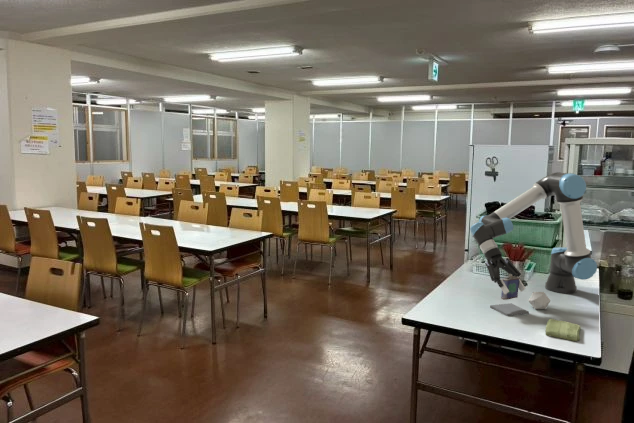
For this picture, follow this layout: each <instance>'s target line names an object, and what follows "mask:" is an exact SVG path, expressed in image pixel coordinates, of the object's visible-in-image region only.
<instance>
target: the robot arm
mask: <svg viewBox="0 0 634 423" xmlns="http://www.w3.org/2000/svg"><path fill="white" fill-rule="evenodd" d="M586 191H587V183H586V181H585V179H584V178H583V177H582V176H580V175H579V174H576V173H571V172H568V173H566V172H558V171H556V172H552V173H550V174H548V175H546V176H544V177H542V178H540V179H539V180H538V181H536V182H535V183H533V185H532V187H531V188H529V189H527V190H525V191H524V192H523V193H521V194H519V195H518V196H517V197H515V198H513V199H512V200H510V201H508V202H507V203H505V204H503V206H501V207H499V208H498V209H496V210H495V211H493V212H492V213H490V214H486V215H482V216H481V217H480V218H479V220H478V222H475V223H473V224H472V225H471V226H470V229H469V231H470V234H471V235H472V238H473V239H474V240H475V242H476V243H477V246H478V247H479V248H480V250H481V252H482V254H483V255H484V257H485V259H486V260H487V261H486V262H485V266H486V268H487V271H488V273H489V274H488V275H489V276H490V279H491V281H492V282H494V283H495V284H497V285H498V287H499V288H500V289H501V292H502V291H503V293H504V294H507V293H508V292H509V290H508V288H507V287H506V285H505V283H504V281H503V278H501V274H500V269H502V270H504V271H505V272H506V273H507V274H508V275H510V274H512V276H516V277H519V286H518V291H520V293H521V292H523V291H524V290H526V286H525V285H524V284H523V281H522V279H521V278H520V276H521V275H522V273H521V272H520V271H519V270H518V268H517V267H516V266H515V265H514V264H513V262H511V260H510V258H509V257H507V258H503V256H502V255H503V254H502V251H501V249H500V248H499V247H498V244H497V243H496V241H495V240H494V239H495V238H498V237H501V236H504V235H507V234H509V233H511V232H513V231H514V224H513V221H512V220H511V219H512V218H514V217H516V216H517V215H518V214H520V213H521V212H523V211H524V210H526V209H528V208H529V207H531V206H532V205H534V204H536V203H537V202H539V201H541V200H542V199H543V200H547V198H549V197H552V196H555V199H556V203H557V204H559V205H560V210H561V216H562V217H561V218H562V224H563V231H564V238H565V244H566V247H564V246H563V247H560V246H559V247H553V248H552V250H551V252H550V266H549V268H550V270H549V275H548V277H547V280H546V282H545V285H544V287H545V288H544V289H546V290H549V291H551V292H555V293H560V294H561V293H562V294H574V293H576V292H577V291H578V289H577V285H576V281H575V279H578V280H584V281H585V280H589V279H591V278H592V277H593V276H594V275H595V274H596V273H597V270H598V265H597V262H596V260H595V259H593V258H592V254H591V250H590V249H589V248H587V243H586V236H585V229H584V223H583V222H584V221H583V215H582V208H581V202H582V201H583V199H584V197H583V196H584V194H585V192H586Z"/></svg>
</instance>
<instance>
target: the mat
mask: <svg viewBox="0 0 634 423" xmlns="http://www.w3.org/2000/svg"><path fill="white" fill-rule="evenodd" d="M489 307H490V309H492V310H494V311H496V312H498V313H500V314H502V315H504V316H506V317H510V316H512V317H513V316H518V315H519V316H520V315H529V314H530V311H528V310H526V309H524V308H522V307H520V306H518V305H516V304H514V303H509V302H508V303H502V304H491V305H489Z"/></svg>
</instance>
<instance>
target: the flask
mask: <svg viewBox="0 0 634 423" xmlns="http://www.w3.org/2000/svg"><path fill="white" fill-rule="evenodd" d="M519 278H520V276H519V277H516V276H512V274H508V277H505V278H502V280H503V281H504V283H505V285H506V287H507V288H508V290H509V292H508V293H507V294H504V293H503V291H502V290H501V294H500V295H501V296H500V299H501V300H505V301H507V300H512V299H517V298H518V296H519V288H518V286H519Z"/></svg>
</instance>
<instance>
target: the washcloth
mask: <svg viewBox="0 0 634 423" xmlns="http://www.w3.org/2000/svg"><path fill="white" fill-rule="evenodd" d="M581 328H582V327H581V325H579V324H577V323H573V322H570V321H565V320H556V319H554V318H549V319H548V320H547V322H546V326H545V335H546V336H547V337H552V338H553V337H554V338H558V339H565V340H568V341H573V342H578V341H580V338H581V337H580V331H581Z"/></svg>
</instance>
